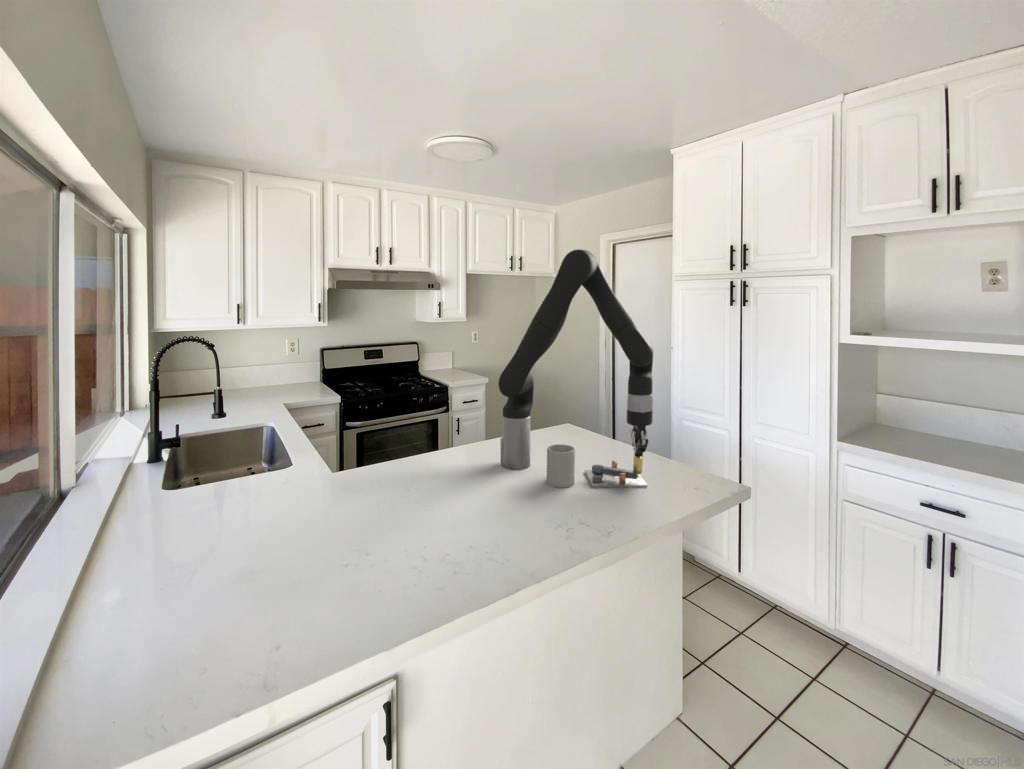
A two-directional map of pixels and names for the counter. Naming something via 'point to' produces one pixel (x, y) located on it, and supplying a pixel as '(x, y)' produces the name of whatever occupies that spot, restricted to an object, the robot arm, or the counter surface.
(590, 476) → the crank base
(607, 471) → the crank lever
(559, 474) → the mug
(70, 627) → the counter surface
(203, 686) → the counter surface
